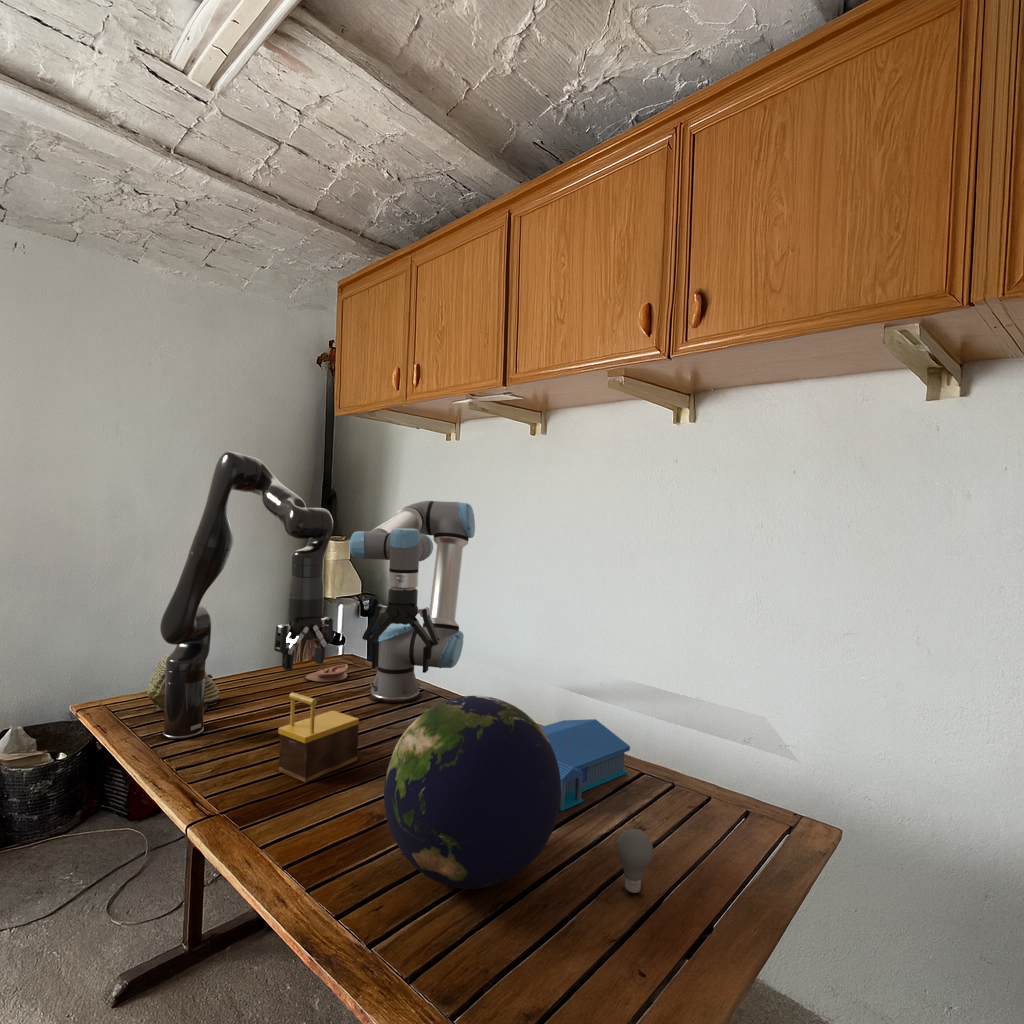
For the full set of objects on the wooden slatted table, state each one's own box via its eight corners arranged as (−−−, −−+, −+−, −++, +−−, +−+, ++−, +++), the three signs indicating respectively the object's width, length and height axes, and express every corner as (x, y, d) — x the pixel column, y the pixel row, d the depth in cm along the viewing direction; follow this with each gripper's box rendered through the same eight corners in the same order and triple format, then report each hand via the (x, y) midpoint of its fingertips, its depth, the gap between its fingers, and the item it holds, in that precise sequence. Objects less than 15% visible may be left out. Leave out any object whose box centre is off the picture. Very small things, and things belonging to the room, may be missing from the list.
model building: (516, 830, 123) (519, 779, 123) (442, 785, 141) (444, 740, 141) (638, 777, 150) (640, 735, 149) (562, 745, 168) (564, 707, 167)
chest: (305, 782, 140) (306, 743, 140) (278, 770, 145) (279, 733, 145) (357, 760, 153) (358, 724, 153) (331, 750, 158) (332, 715, 158)
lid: (305, 743, 140) (306, 703, 139) (278, 733, 145) (279, 694, 144) (358, 723, 153) (360, 687, 153) (332, 715, 158) (333, 679, 158)
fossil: (144, 707, 182) (145, 655, 182) (212, 696, 194) (213, 647, 194) (151, 716, 175) (153, 662, 175) (221, 703, 188) (223, 653, 188)
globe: (343, 899, 100) (350, 710, 100) (435, 815, 128) (441, 667, 127) (518, 958, 89) (528, 746, 88) (578, 852, 117) (585, 690, 116)
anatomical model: (300, 668, 215) (317, 660, 226) (300, 679, 215) (317, 671, 226) (336, 672, 212) (352, 663, 224) (336, 683, 212) (351, 675, 224)
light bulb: (610, 879, 108) (613, 822, 108) (644, 879, 109) (647, 822, 109) (619, 902, 102) (622, 840, 102) (655, 901, 103) (658, 840, 103)
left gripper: (290, 601, 136) (287, 676, 136) (342, 594, 148) (339, 663, 148) (268, 596, 140) (266, 669, 140) (320, 590, 152) (318, 657, 152)
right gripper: (351, 586, 162) (348, 669, 163) (446, 593, 159) (443, 677, 159) (362, 583, 170) (359, 661, 170) (453, 589, 166) (450, 669, 167)
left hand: (303, 666), depth 144 cm, fingers open, 8 cm apart
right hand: (400, 669), depth 165 cm, fingers open, 13 cm apart
